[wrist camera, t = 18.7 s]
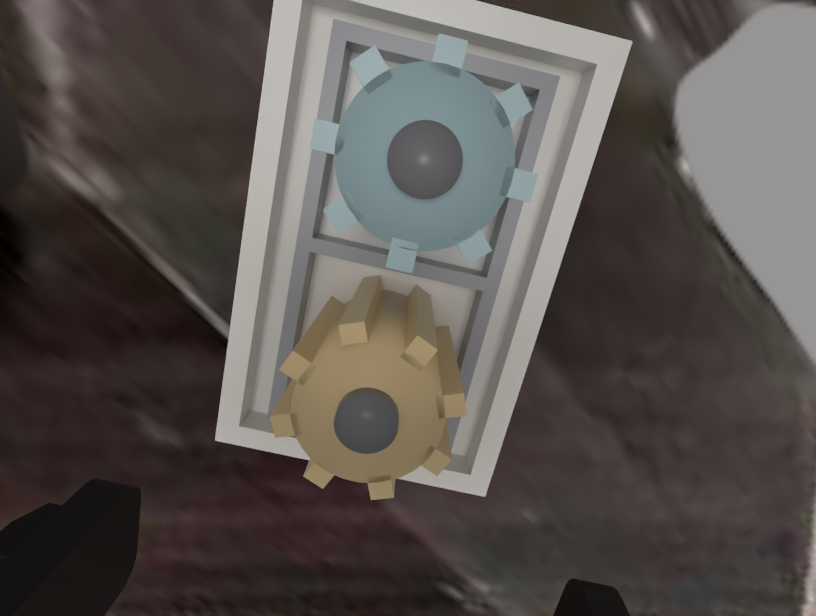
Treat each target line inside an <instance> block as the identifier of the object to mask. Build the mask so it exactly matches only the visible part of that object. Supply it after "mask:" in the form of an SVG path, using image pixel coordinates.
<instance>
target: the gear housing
mask: <svg viewBox="0 0 816 616" xmlns="http://www.w3.org/2000/svg"><path fill="white" fill-rule="evenodd" d="M439 33H440V34H444V35H448V36H452V37H456V38H460V39H463V40H467V41H469V42H468V46H467V50H466V54H465V58H464V62H463V66H462V70H464V71H466V72H468V73H470V74H472V75H473V76H474V77H476V78H477V79H479V80H480V81H481V82H482V83H483V84H485V85H486V86H487V87H488V88H489V89H490V90H491V91H492V93H493V94H494V95H495V96H496V97H497V96H498V95H500V94H501V93H503V92H504V91H506V90H507V89H509V88H510V87H512V86H514V85H515V84H517V83H518V82H519V84H520V85H521V87H522V89H523V91H524V93H525V95H526V97H527V99H528V101H529V103H530V105H531V107H532V109H533V110H532V111H530V112H529V113H527V114H526V115H524V116H522V117H521V118H519V119H518V120H516V121H515V122H513V123H511V124H510V125H511V129H512V132H513V137H514V143H515V167H514V168H517V169H521V170H525V171H529V172H533V173H537V174H538V176H537V180H536V183H535V186H534V190H533V193H532V196H531V200H530V203H529V202H524V201H520V200H515V199H510V198H505V200H504V202H503V204H502V206H501V207H500V209H499V210H498V212H497V213H496V215H495V216H494V217H493V218H492V220H491V221H490V222H489V223H488V224H487V225H486V226H485V227H484V228H483V229H482V230H481V231H482V233H483V235H484V237H485V238H486V240H487V242H488V244H489V245H490V247H491V249H492V251H491V252H489V253H487V254H486V255H484V256H482V257H481V258H479V259H477V260H476V261H474V262H472V263H471V264H469V265H468V263H467V262H466V260H465V258H464V257H463V255H462V254H461V252H460V250H459V249H458V247H457V245H455V246H452V247H449V248H445V249H441V250H435V251H417V255H416V259H415V263H414V267H413V271H412V273H408V272H403V271H399V270H395V269H391V268H386V263H387V258H388V254H389V250H390V244H388V243H386V242H384V241H382V240H380V239H379V238H377V237H376V236H374V235H373V234H371V233H370V232H369V231H368V230H366V229H365V228H364V227H363V226H362V225H361V224H360V223H359V222H358V221H357V222H356V223H354V224H353V225H351V226H349V227H348V228H346V229H345V230H343V231H342V232H340V233H337V231H336V230H335V228H334V227H333V225H332V224H331V222H330V220H329V219H328V217H327V216H326V214H325V213H324V211H323V209H324V208H326V207H327V206H329V205H330V204H332V203H333V202H335V201H336V200H338V199H340V198H341V197H342V194H341V192H340V189H339V186H338V182H337V178H336V173H335V165H334V155H331V154H328V153H324V152H321V151H317V150H314V149H310V145H311V139H312V133H313V127H314V121H315V118H317V119H321V120H325V121H329V122H333V123H337V124H340V123H341V120H342V118H343V115H344V113H345V111H346V110H347V108H348V106H349V104H350V103H351V101H352V100H353V99H354V97H355V96H356V95H357V93H358V92H359V91H360V90H361V89H362V88H363V86H362V84H361V82H360V80H359V79H358V77H357V75H356V73H355V72H354V70H353V68H352V66H351V65H350V62H351V61H353V60H354V59H355V58H357V57H358V56H360V55H361V54H363V53H364V52H365V51H367V50H368V49H370V48H371V47H373V46H374V45H375V46H376V47H377V49H378V51H379V53H380V54H381V56H382V58H383V60H384V61H385V63H386V65H387V67H388V68H389V69H391V68H394V67H396V66H399V65H403V64H407V63H411V62H421V61H428V62H432V60H433V56H434V52H435V47H436V43H437V38H438V34H439ZM632 42H633V41H630V40H626V39H622V38H618V37H614V36H611V35H607V34H603V33H599V32H595V31H591V30H587V29H584V28H580V27H576V26H572V25H568V24H564V23H561V22H557V21H553V20H549V19H545V18H541V17H538V16H534V15H530V14H526V13H522V12H518V11H514V10H511V9H507V8H503V7H499V6H495V5H491V4H488V3H484V2H480V1H476V0H274V4H273V11H272V18H271V26H270V33H269V41H268V48H267V56H266V63H265V71H264V78H263V86H262V93H261V100H260V108H259V115H258V123H257V130H256V138H255V145H254V153H253V160H252V168H251V175H250V182H249V190H248V197H247V205H246V212H245V220H244V227H243V235H242V242H241V250H240V257H239V265H238V272H237V279H236V287H235V294H234V302H233V309H232V317H231V324H230V332H229V339H228V347H227V354H226V361H225V369H224V376H223V384H222V391H221V399H220V406H219V414H218V421H217V429H216V436H215V441H219V442H224V443H229V444H234V445H239V446H243V447H248V448H253V449H258V450H263V451H267V452H272V453H277V454H282V455H287V456H291V457H296V458H301V459H306V460H310V457H309V456H308V455H307V454H306V453H305V451H304V450H303V449H302V447H301V445H300V444H299V442H298V440H297V438H296V436H287V437H279V438H275V436H274V432H273V428H272V424H271V420H270V415H271V413H272V411H273V410H274V408H275V407H276V405H277V403H278V402H279V400H280V398H281V397H282V395H283V393H284V392H285V390H286V388H287V387H288V385H289V384H290V382H291V380H292V378H291V377H289V376H288V375H286V374H285V373H283V372H282V371H280V370H279V369H280V368H281V366H282V365H283V363H284V362H285V361H286V359H287V358H288V356H289V355H290V354H291V352H292V351H293V349H294V348H295V346H296V345H297V344H298V342H299V341H300V339H301V338H302V337H303V335H304V334H305V332H306V331H307V330H308V328H309V327H310V325H311V324H312V322H313V321H314V320H315V318H316V317H317V315H318V314H319V313H320V311H321V310H322V308H323V307H324V306H325V304H326V303H327V302H328V300H329V299H330V298H331V296H333V297H334V298H336V299H337V300H338V301H340V302H341V303H343V304H345V303H347V302H348V301H349V300H351V299H352V298H353V296H354V294H355V292H356V290H357V288H358V286H359V285H360V283H361V281H362V279H363V278H364V277H372V276H379V275H381V281H382V287H383V290H389V291H394V292H398V293H401V294H403V295H406V296H408V295H409V294H410V293H411V291H412V290H413V289H414V288H415V286H416V285H418V286H419V287H420V288H422V289H423V290H424V291H426V292H427V293H428V294H430V295H431V301H432V308H433V315H434V323H435V327H442V326H449V329H450V334H451V338H452V342H453V347H454V351H455V356H456V360H457V364H458V369H459V373H460V377H461V382H462V386H463V391H464V397H465V405H466V414H467V416H461V417H452V418H447V425H448V432H449V440H450V447H451V455H452V461H451V462H450V463H449V464H448V465H447V466H446V467H445V468H444V469H443V471H442V472H441V473H440V474H439V475H438V476H436V475H434V474H433V473H431V472H430V471H428V470H427V469H425V468H424V467H422V466H420V467H418V468H417V469H416V470H414V471H412V472H410V473H409V474H407V475H405V476H402V477H400V478H397V479H402V480H406V481H411V482H416V483H421V484H426V485H430V486H435V487H440V488H445V489H450V490H454V491H459V492H464V493H469V494H474V495H478V496H483V497H485V496H486V493H487V490H488V487H489V484H490V480H491V477H492V474H493V471H494V468H495V465H496V462H497V459H498V456H499V453H500V450H501V446H502V443H503V440H504V437H505V434H506V431H507V428H508V425H509V422H510V419H511V416H512V413H513V409H514V406H515V403H516V400H517V397H518V394H519V391H520V388H521V385H522V382H523V379H524V375H525V372H526V369H527V366H528V363H529V360H530V357H531V354H532V351H533V348H534V345H535V341H536V338H537V335H538V332H539V329H540V326H541V323H542V320H543V317H544V314H545V311H546V307H547V304H548V301H549V298H550V295H551V292H552V289H553V286H554V283H555V280H556V277H557V274H558V270H559V267H560V264H561V261H562V258H563V255H564V252H565V249H566V246H567V243H568V240H569V236H570V233H571V230H572V227H573V224H574V221H575V218H576V215H577V212H578V209H579V206H580V202H581V199H582V196H583V193H584V190H585V187H586V184H587V181H588V178H589V175H590V172H591V169H592V165H593V162H594V159H595V156H596V153H597V150H598V147H599V144H600V141H601V138H602V135H603V131H604V128H605V125H606V122H607V119H608V116H609V113H610V110H611V107H612V104H613V101H614V97H615V94H616V91H617V88H618V85H619V82H620V79H621V76H622V73H623V70H624V67H625V64H626V60H627V57H628V54H629V51H630V48H631V45H632Z"/></svg>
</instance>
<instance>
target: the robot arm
mask: <svg viewBox="0 0 816 616" xmlns="http://www.w3.org/2000/svg"><path fill="white" fill-rule="evenodd" d="M140 503H141V491H140V489H139V488H138V487H135V486H130V485H125V484H121V483H116V482H111V481H106V480H101V479H92V480H90V481H89V482H87V483H86V484H85V485H84V486H83V487H81V488H80V489H79V490H78V491H77V492H76V493H75V494H74V495H73V496H72V497H71V498H70V499H68V500H67V501H66V502H65V503H64V504H63V505H57V504H52V503H48V504H46V505H44V506H42V507H40V508H38V509H36V510H34V511H32V512H30V513H28V514H26V515H24V516H22V517H20V518H18V519H16V520H14V521H12V522H11V523H9V524H8V525H7V526H6V527H5V528H4V529H2V530H1V531H0V616H104V615H105V614H106V612H107V611H108V610H109V608H110V607H111V606H112V604H113V603H114V601H115V600H116V599H117V597H118V596H119V594H120V593H121V591H122V590H123V588H124V586H125V584H126V583H127V581H128V578H129V576H130V574H131V572H132V569H133V566H134V563H135V559H136V554H137V543H138V530H139V517H140ZM553 616H630V615H629V613H628V611H627V608H626V606H625V604H624V602H623V600H622V598H621V596H620V594H619V593H618V591H617V590H616V589H615V588H614V587H612V586H607V585H602V584H597V583H592V582H588V581H583V580H578V579H570V580H569V581H568V582H567V584H566V586H565V588H564V591H563V593H562V596H561V598H560V601H559V603H558V605H557V608H556V610H555V613H554V615H553Z"/></svg>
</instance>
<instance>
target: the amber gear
mask: <svg viewBox="0 0 816 616" xmlns="http://www.w3.org/2000/svg"><path fill="white" fill-rule="evenodd" d="M279 370H280V371H282V372H283V373H285V374H286V375H288V376H289V377H291V378H292V380H291V382H290V384H289V385H288V387H287V388H286V390H285V392H284V393H283V395H282V397H281V398H280V400H279V402H278V403H277V405H276V407H275V408H274V410H273V411H272V413H271V415H270V420H271V424H272V428H273V432H274V436H275V438H279V437H287V436H296V438H297V440H298V442H299V444H300V445H301V447H302V449H303V450H304V451H305V453H306V454H307V455H308V456H309V457H310V460H309V462H308V465H307V468H306V470H305V473H304V476H303V477H305V478H307V479H308V480H310V481H311V482H313V483H314V484H316V485H317V486H319V487H321V488H322V489H323V488H324V487H325V486H326V485H327V483H328V482H329V481H330V480H331V479H332V477H333V476H334V475H335V476H338V477H340V478H343V479H347V480H350V481H355V482H362V483H368V487H369V493H370V498H371V500H377V499H386V498H394V492H395V479H397V478H400V477H402V476H405V475H407V474H409V473H410V472H412V471H414V470H416V469H417V468H418V467H420V466H422V467H424V468H425V469H427V470H428V471H430V472H431V473H433V474H434V475H436V476H438V475H439V474H440V473H441V472H442V471H443V469H444V468H445V467H446V466H447V465H448V464H449V463H450V462H451V461H452V455H451V447H450V440H449V432H448V425H447V418H452V417H461V416H467V414H466V405H465V397H464V391H463V386H462V382H461V377H460V373H459V369H458V364H457V360H456V356H455V351H454V347H453V342H452V338H451V334H450V329H449V326H442V327H435V323H434V315H433V308H432V301H431V295H430V294H428V293H427V292H426V291H424V290H423V289H422V288H420V287H419V286H418V285H416V286H415V288H414V289H413V290H412V291H411V293H410V294H409V295H408V296H406V295H403V294H401V293H398V292H394V291H389V290H383V287H382V281H381V275H379V276H372V277H364V278H363V279H362V281H361V283H360V285H359V286H358V288H357V290H356V292H355V294H354V296H353V298H352V299H351V300H349V301H348V302H347V303H345V304H343V303H341V302H340V301H338V300H337V299H336V298H334V297H333V296H331V298H330V299H329V300H328V302H327V303H326V304H325V306H324V307H323V308H322V310H321V311H320V313H319V314H318V315H317V317H316V318H315V320H314V321H313V322H312V324H311V325H310V327H309V328H308V330H307V331H306V332H305V334H304V335H303V337H302V338H301V339H300V341H299V342H298V344H297V345H296V346H295V348H294V349H293V351H292V352H291V354H290V355H289V356H288V358H287V359H286V361H285V362H284V363H283V365H282V366H281V368H280V369H279Z"/></svg>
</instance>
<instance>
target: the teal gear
mask: <svg viewBox="0 0 816 616" xmlns="http://www.w3.org/2000/svg"><path fill="white" fill-rule="evenodd" d="M468 42H469V41H467V40H463V39H460V38H456V37H452V36H448V35H444V34H440V33H439V34H438V38H437V43H436V47H435V52H434V56H433V60H432V62H428V61H421V62H411V63H407V64H403V65H399V66H396V67H394V68H391V69H389V68H388V67H387V65H386V63H385V61H384V60H383V58H382V56H381V54H380V53H379V51H378V49H377V47H376V46H375V45H374V46H373V47H371V48H370V49H368V50H367V51H365V52H364V53H363V54H361V55H360V56H358V57H357V58H355V59H354V60H353V61H351V62H350V65H351V66H352V68H353V70H354V72H355V73H356V75H357V77H358V79H359V80H360V82H361V84H362V86H363V88H362V89H361V90H360V91H359V92H358V93H357V95H356V96H355V97H354V99H353V100H352V101H351V103H350V104H349V106H348V108H347V110H346V111H345V113H344V115H343V118H342V120H341V123H340V124H337V123H333V122H329V121H325V120H321V119H317V118H315V121H314V127H313V133H312V139H311V145H310V149H314V150H317V151H321V152H324V153H328V154H331V155H334V165H335V173H336V178H337V182H338V186H339V189H340V192H341V194H342V197H341V198H340V199H338V200H336V201H335V202H333V203H332V204H330V205H329V206H327V207H326V208H324V209H323V211H324V213H325V214H326V216H327V217H328V219H329V220H330V222H331V224H332V225H333V227H334V228H335V230H336V231H337V233H340V232H342V231H343V230H345V229H346V228H348V227H349V226H351V225H353V224H354V223H356V222H357V221H358V222H359V223H360V224H361V225H362V226H363V227H364V228H365V229H366V230H368V231H369V232H370V233H371V234H373V235H374V236H376V237H377V238H379V239H380V240H382V241H384V242H386V243H388V244H390V250H389V254H388V258H387V263H386V268H391V269H395V270H399V271H403V272H408V273H412V271H413V267H414V263H415V259H416V255H417V251H435V250H441V249H445V248H449V247H452V246H455V245H457V247H458V249H459V250H460V252H461V254H462V255H463V257H464V258H465V260H466V262H467V263H468V265H469V264H471V263H472V262H474V261H476V260H477V259H479V258H481V257H482V256H484V255H486V254H487V253H489V252H491V251H492V249H491V247H490V245H489V244H488V242H487V240H486V238H485V237H484V235H483V233H482V231H481V230H482V229H483V228H484V227H485V226H486V225H487V224H488V223H489V222H490V221H491V220H492V218H493V217H494V216H495V215H496V213H497V212H498V210H499V209H500V207H501V206H502V204H503V202H504V200H505V198H510V199H515V200H520V201H524V202H529V203H530V200H531V196H532V193H533V190H534V186H535V183H536V180H537V176H538V174H537V173H533V172H529V171H525V170H521V169H517V168H514V167H515V143H514V137H513V132H512V129H511V125H510V124H511V123H513V122H515V121H516V120H518V119H519V118H521V117H522V116H524V115H526V114H527V113H529V112H530V111H532V110H533V109H532V107H531V105H530V103H529V101H528V99H527V97H526V95H525V93H524V91H523V89H522V87H521V85H520V84H519V82H518V83H517V84H515V85H514V86H512V87H510V88H509V89H507V90H506V91H504V92H503V93H501V94H500V95H498V96H497V97H496V96H495V95H494V94H493V93H492V91H491V90H490V89H489V88H488V87H487V86H486V85H485V84H483V83H482V82H481V81H480V80H479V79H477V78H476V77H474V76H473V75H472V74H470V73H468V72H466V71H464V70H462V66H463V62H464V58H465V54H466V50H467V46H468Z"/></svg>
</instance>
